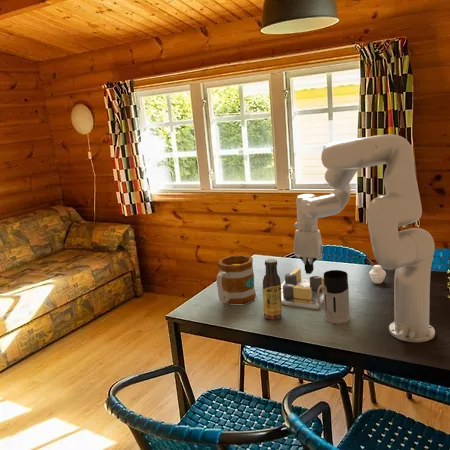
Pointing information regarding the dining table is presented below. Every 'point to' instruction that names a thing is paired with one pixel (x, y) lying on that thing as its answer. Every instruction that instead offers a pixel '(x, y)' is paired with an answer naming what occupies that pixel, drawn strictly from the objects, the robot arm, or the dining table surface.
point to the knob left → (293, 277)
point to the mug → (236, 279)
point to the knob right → (316, 282)
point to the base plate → (303, 302)
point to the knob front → (296, 292)
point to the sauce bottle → (272, 291)
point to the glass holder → (335, 296)
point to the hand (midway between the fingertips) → (309, 272)
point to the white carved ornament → (377, 274)
